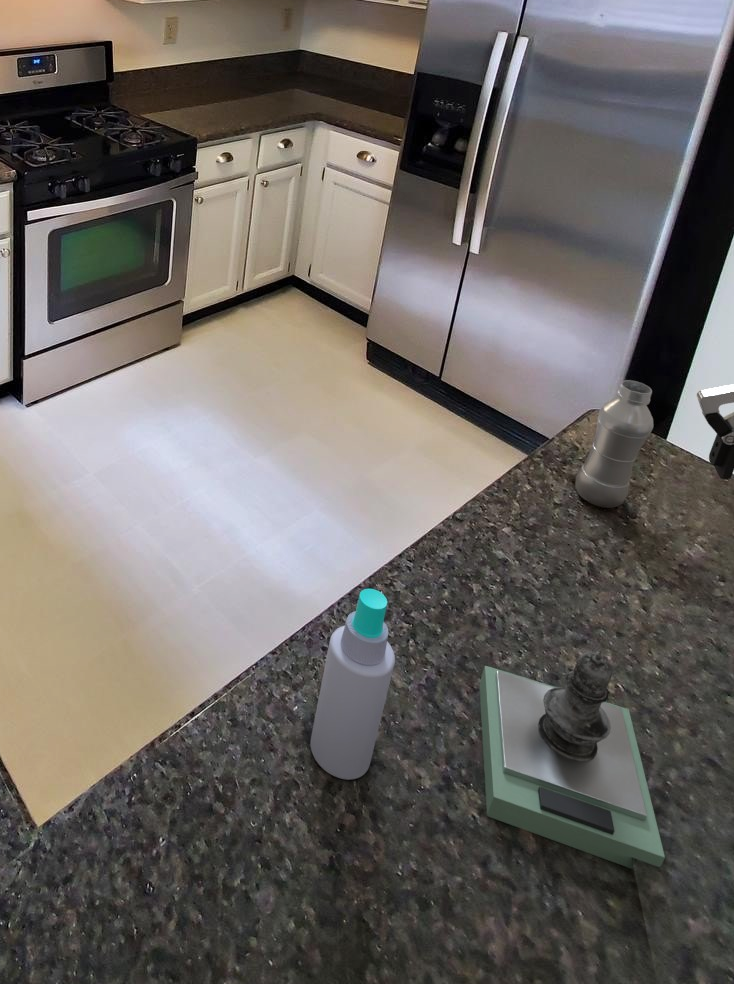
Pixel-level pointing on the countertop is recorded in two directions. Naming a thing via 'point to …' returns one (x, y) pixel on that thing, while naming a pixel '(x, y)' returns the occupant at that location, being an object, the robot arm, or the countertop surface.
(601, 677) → the grey chess piece
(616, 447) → the plastic bottle
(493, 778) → the scale
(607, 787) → the scale platform
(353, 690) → the spray bottle
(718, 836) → the countertop surface
